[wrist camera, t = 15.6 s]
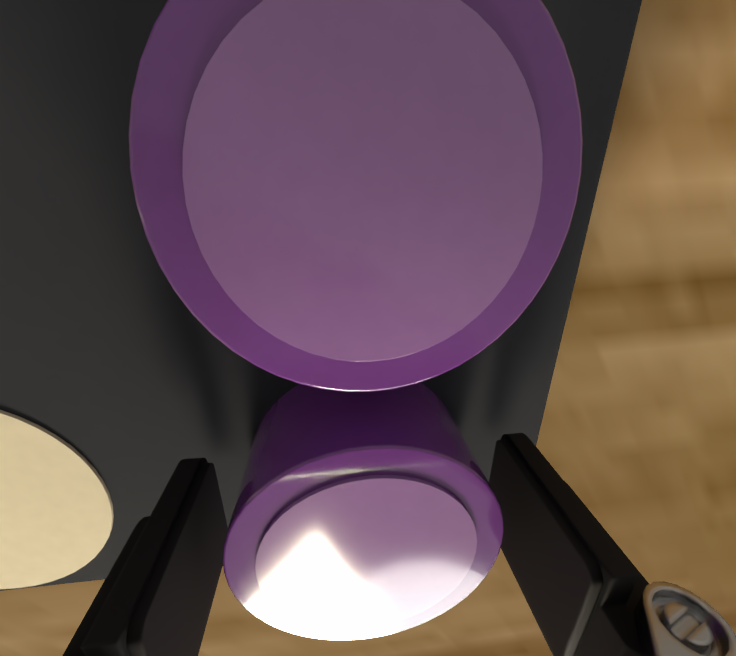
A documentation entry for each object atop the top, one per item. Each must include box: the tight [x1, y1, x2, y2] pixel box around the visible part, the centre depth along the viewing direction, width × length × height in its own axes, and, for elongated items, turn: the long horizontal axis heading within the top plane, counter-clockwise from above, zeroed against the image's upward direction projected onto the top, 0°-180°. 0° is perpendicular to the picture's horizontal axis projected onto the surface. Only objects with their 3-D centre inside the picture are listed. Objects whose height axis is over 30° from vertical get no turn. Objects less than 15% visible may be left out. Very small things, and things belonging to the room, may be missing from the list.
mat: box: [0, 0, 642, 591], centre depth 7 cm, size 22×24×1 cm
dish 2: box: [223, 382, 504, 640], centre depth 9 cm, size 6×6×3 cm
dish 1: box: [129, 0, 583, 392], centre depth 6 cm, size 6×6×3 cm
